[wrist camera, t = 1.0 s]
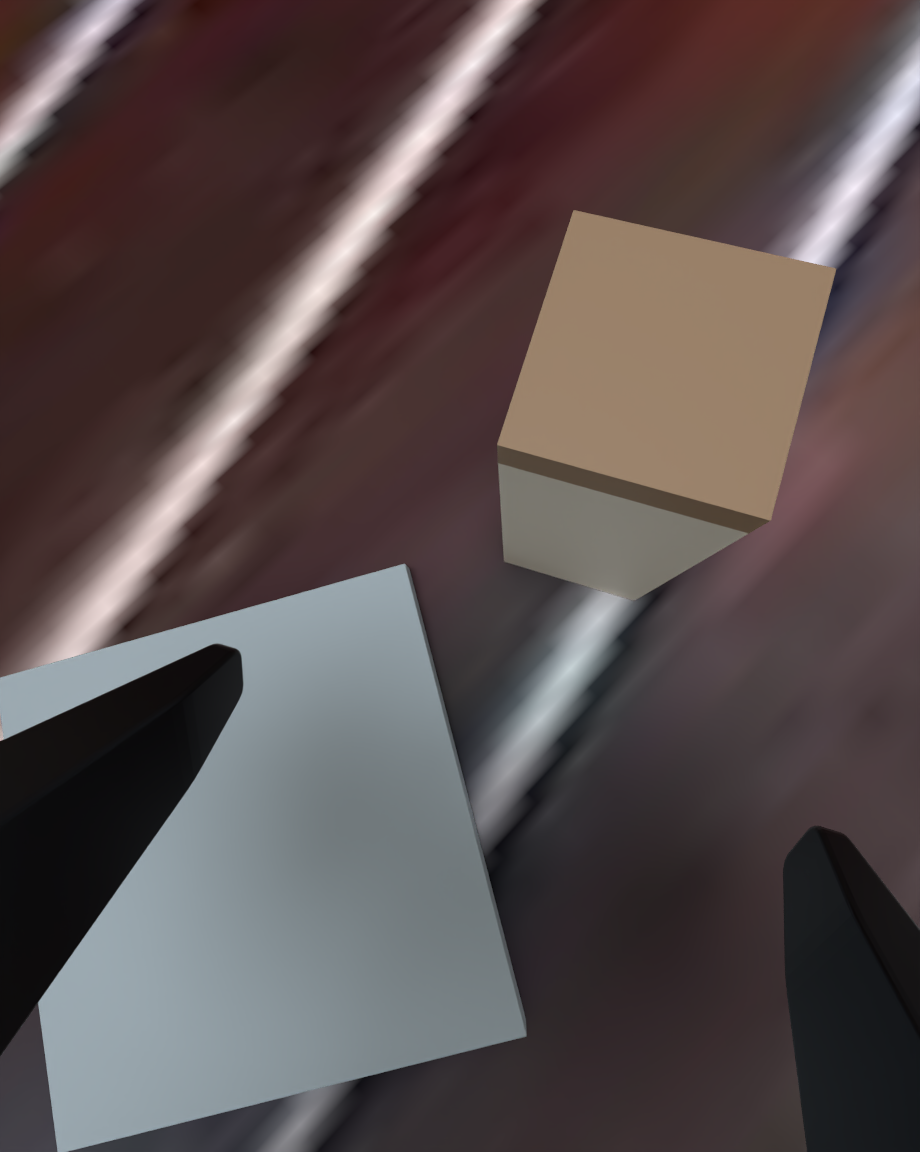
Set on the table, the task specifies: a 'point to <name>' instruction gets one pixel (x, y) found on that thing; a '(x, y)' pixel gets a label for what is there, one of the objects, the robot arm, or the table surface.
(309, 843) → the slate mat
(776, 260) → the tan block
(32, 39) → the table surface
